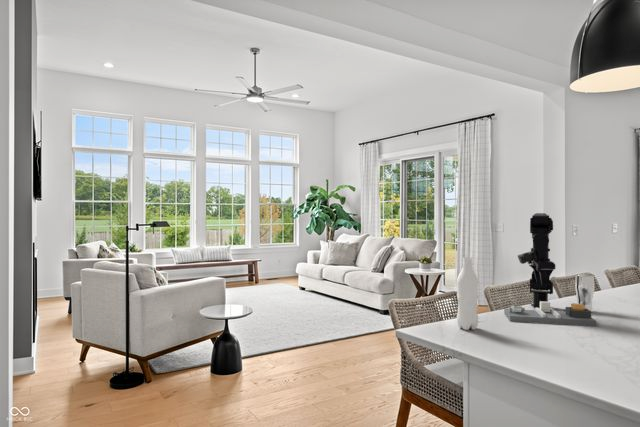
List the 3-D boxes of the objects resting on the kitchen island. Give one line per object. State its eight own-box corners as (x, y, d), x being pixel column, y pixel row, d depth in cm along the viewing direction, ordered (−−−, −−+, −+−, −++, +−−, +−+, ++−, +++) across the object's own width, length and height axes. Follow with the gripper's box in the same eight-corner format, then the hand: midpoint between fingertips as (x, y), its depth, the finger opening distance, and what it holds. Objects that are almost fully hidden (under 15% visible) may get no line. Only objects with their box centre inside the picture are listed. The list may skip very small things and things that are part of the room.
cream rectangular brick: (539, 310, 172) (539, 301, 172) (548, 310, 172) (548, 301, 172) (541, 311, 170) (541, 302, 170) (550, 312, 169) (550, 302, 169)
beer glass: (589, 309, 185) (589, 274, 185) (597, 312, 178) (597, 276, 178) (571, 308, 186) (571, 273, 186) (580, 312, 179) (580, 276, 179)
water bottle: (479, 331, 150) (479, 259, 150) (458, 330, 151) (457, 258, 151) (476, 326, 157) (476, 256, 157) (455, 325, 158) (455, 256, 158)
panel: (504, 313, 177) (504, 302, 177) (583, 317, 170) (583, 306, 170) (510, 321, 164) (510, 309, 164) (596, 326, 157) (596, 313, 157)
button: (569, 309, 167) (569, 303, 167) (582, 310, 166) (582, 303, 166) (573, 311, 163) (573, 305, 163) (586, 312, 162) (586, 306, 162)
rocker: (511, 308, 172) (511, 306, 173) (519, 309, 172) (519, 306, 172) (513, 308, 168) (513, 305, 168) (522, 309, 167) (522, 306, 167)
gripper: (514, 243, 188) (514, 279, 188) (524, 247, 170) (524, 287, 170) (542, 244, 186) (542, 280, 186) (555, 247, 168) (555, 288, 168)
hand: (540, 284), depth 177 cm, fingers open, 8 cm apart
